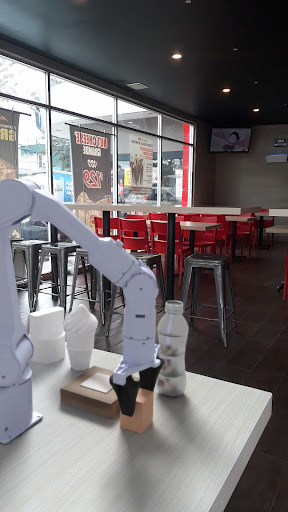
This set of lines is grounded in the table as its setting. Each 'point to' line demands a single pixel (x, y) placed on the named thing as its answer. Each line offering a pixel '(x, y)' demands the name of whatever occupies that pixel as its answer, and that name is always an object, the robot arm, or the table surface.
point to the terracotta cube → (140, 413)
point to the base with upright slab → (47, 335)
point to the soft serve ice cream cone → (80, 337)
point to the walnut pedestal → (92, 392)
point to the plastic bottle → (172, 350)
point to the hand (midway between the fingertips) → (137, 404)
